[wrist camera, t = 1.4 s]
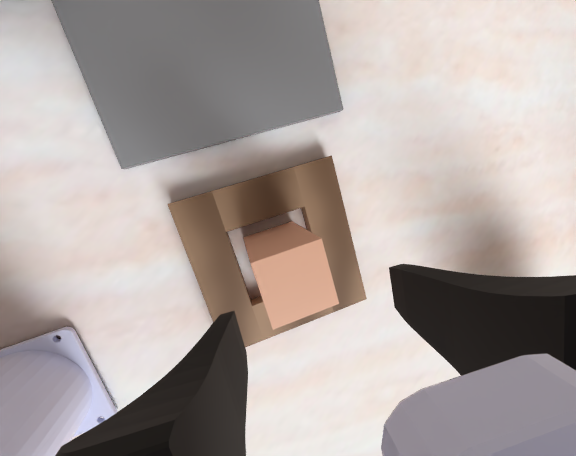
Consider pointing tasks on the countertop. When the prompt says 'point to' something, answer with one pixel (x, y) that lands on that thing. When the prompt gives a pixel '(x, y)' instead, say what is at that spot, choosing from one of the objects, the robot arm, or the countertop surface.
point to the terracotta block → (291, 272)
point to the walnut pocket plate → (256, 207)
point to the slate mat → (199, 70)
